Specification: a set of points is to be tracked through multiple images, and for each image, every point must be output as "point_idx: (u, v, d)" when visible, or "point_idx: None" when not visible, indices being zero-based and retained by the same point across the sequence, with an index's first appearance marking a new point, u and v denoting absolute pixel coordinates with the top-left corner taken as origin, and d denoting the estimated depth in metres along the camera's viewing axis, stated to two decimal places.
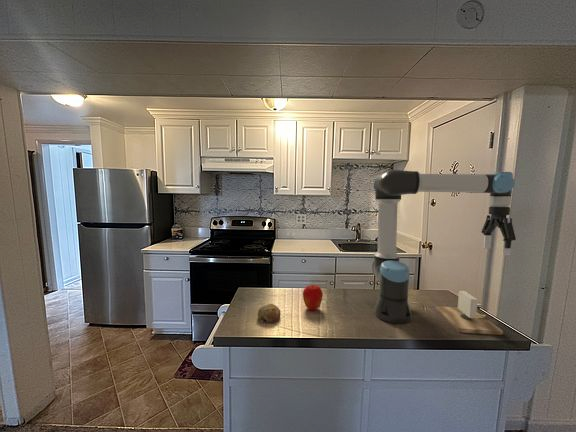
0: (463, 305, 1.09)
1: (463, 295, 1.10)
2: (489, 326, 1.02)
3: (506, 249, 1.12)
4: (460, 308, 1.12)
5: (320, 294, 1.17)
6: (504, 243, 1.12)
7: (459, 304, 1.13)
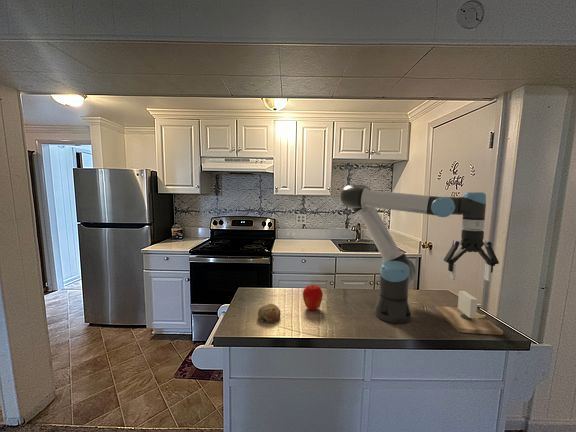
0: (463, 305, 1.09)
1: (463, 295, 1.10)
2: (489, 326, 1.02)
3: (451, 272, 1.09)
4: (460, 308, 1.12)
5: (320, 294, 1.17)
6: None
7: (459, 304, 1.13)
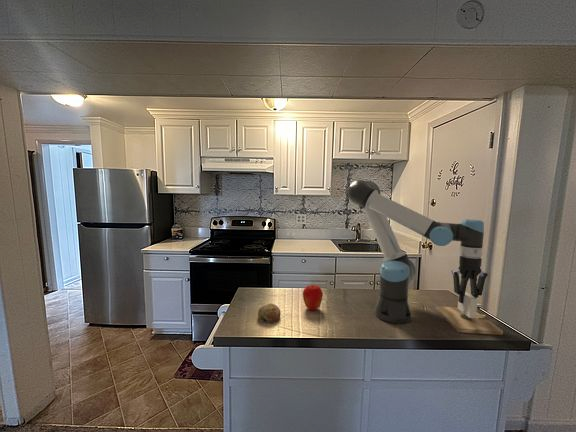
0: None
1: None
2: (489, 326, 1.02)
3: (462, 304, 1.09)
4: None
5: (320, 294, 1.17)
6: None
7: (459, 304, 1.13)
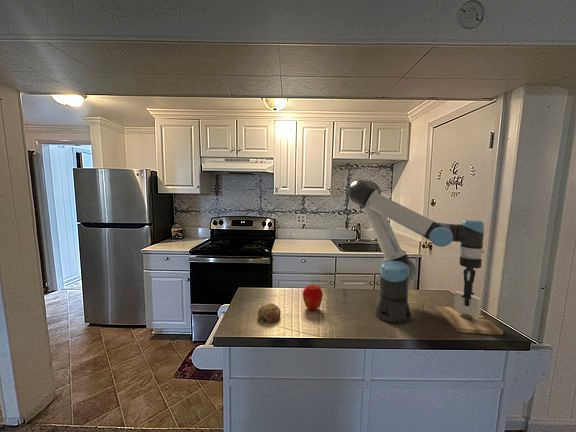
0: None
1: None
2: (489, 326, 1.02)
3: (466, 306, 1.07)
4: (459, 309, 1.11)
5: (320, 294, 1.17)
6: (464, 300, 1.08)
7: (456, 305, 1.12)
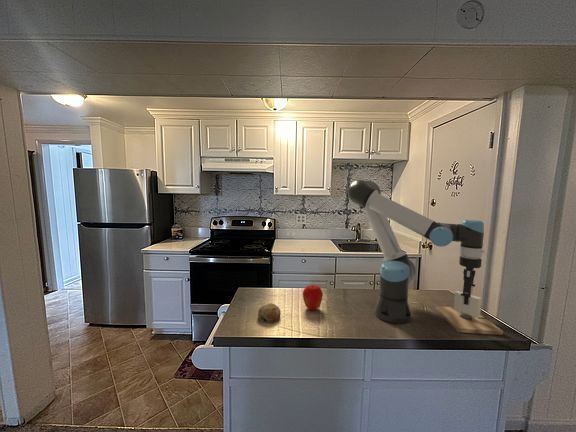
0: None
1: None
2: (489, 326, 1.02)
3: (465, 305, 1.03)
4: (459, 309, 1.11)
5: (320, 294, 1.17)
6: (463, 298, 1.04)
7: (456, 305, 1.11)
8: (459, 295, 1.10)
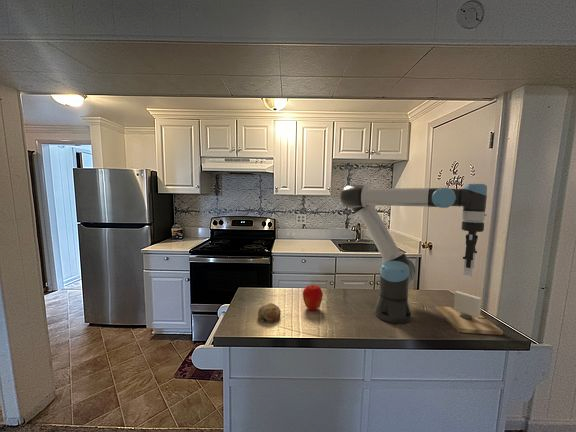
0: (465, 306, 1.09)
1: (464, 296, 1.09)
2: (489, 326, 1.02)
3: (467, 269, 1.02)
4: (459, 309, 1.11)
5: (320, 294, 1.17)
6: (465, 262, 1.03)
7: (456, 305, 1.11)
8: (459, 295, 1.10)
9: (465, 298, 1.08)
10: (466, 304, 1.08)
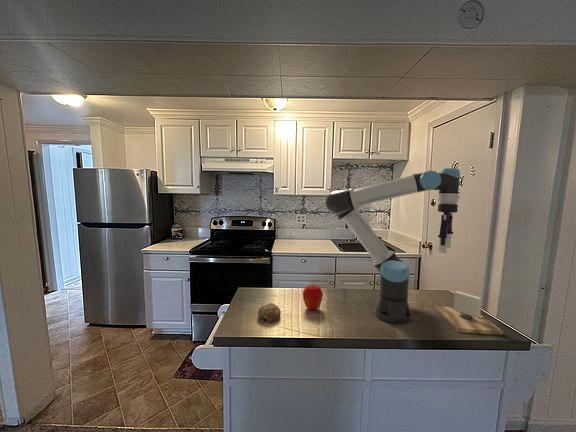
0: (465, 306, 1.09)
1: (464, 296, 1.09)
2: (489, 326, 1.02)
3: (442, 246, 1.11)
4: (459, 309, 1.11)
5: (320, 294, 1.17)
6: (440, 240, 1.11)
7: (456, 305, 1.11)
8: (459, 295, 1.10)
9: (465, 298, 1.08)
10: (466, 304, 1.08)
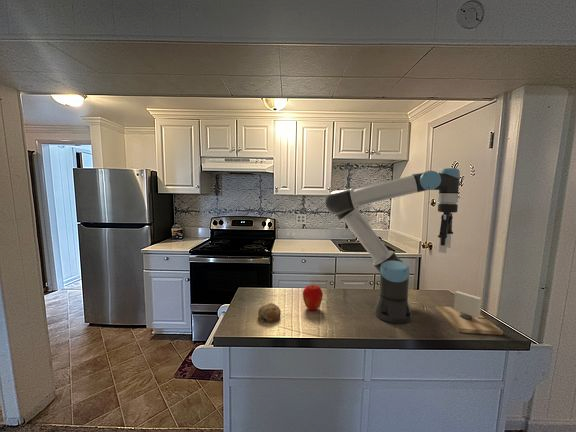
0: (465, 306, 1.09)
1: (464, 296, 1.09)
2: (489, 326, 1.02)
3: (442, 246, 1.11)
4: (459, 309, 1.11)
5: (320, 294, 1.17)
6: (440, 240, 1.11)
7: (456, 305, 1.11)
8: (459, 295, 1.10)
9: (465, 298, 1.08)
10: (466, 304, 1.08)
